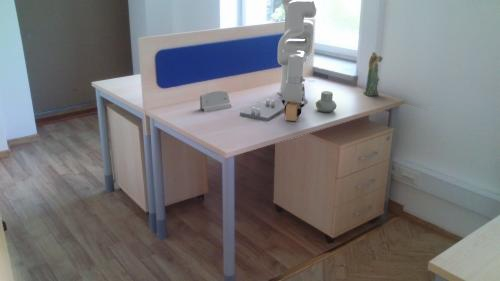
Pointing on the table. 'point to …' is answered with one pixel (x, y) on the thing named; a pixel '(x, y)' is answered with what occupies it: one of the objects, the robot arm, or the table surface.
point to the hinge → (214, 101)
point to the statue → (372, 75)
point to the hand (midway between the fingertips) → (292, 114)
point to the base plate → (263, 110)
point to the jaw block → (291, 111)
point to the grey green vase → (326, 102)
